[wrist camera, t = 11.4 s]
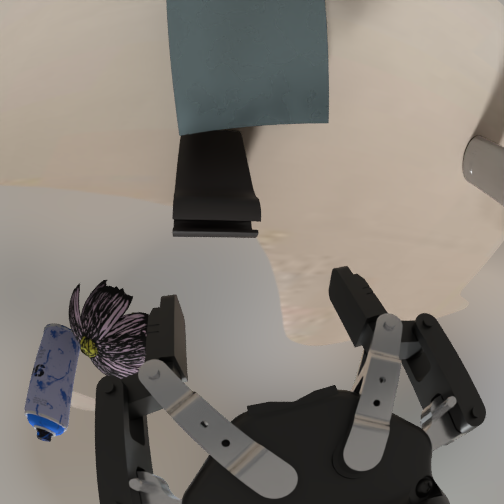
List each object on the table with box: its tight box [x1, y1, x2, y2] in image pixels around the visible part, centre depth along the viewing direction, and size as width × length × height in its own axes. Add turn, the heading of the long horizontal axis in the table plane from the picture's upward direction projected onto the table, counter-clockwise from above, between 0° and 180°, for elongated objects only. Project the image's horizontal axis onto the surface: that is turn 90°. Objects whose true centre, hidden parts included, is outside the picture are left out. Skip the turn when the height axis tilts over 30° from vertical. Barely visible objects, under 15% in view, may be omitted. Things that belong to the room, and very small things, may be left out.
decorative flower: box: [69, 280, 149, 379], centre depth 32 cm, size 15×12×15 cm
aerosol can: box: [25, 324, 80, 442], centre depth 30 cm, size 8×8×20 cm
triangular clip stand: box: [173, 130, 261, 238], centre depth 23 cm, size 9×6×12 cm, turn 171°
